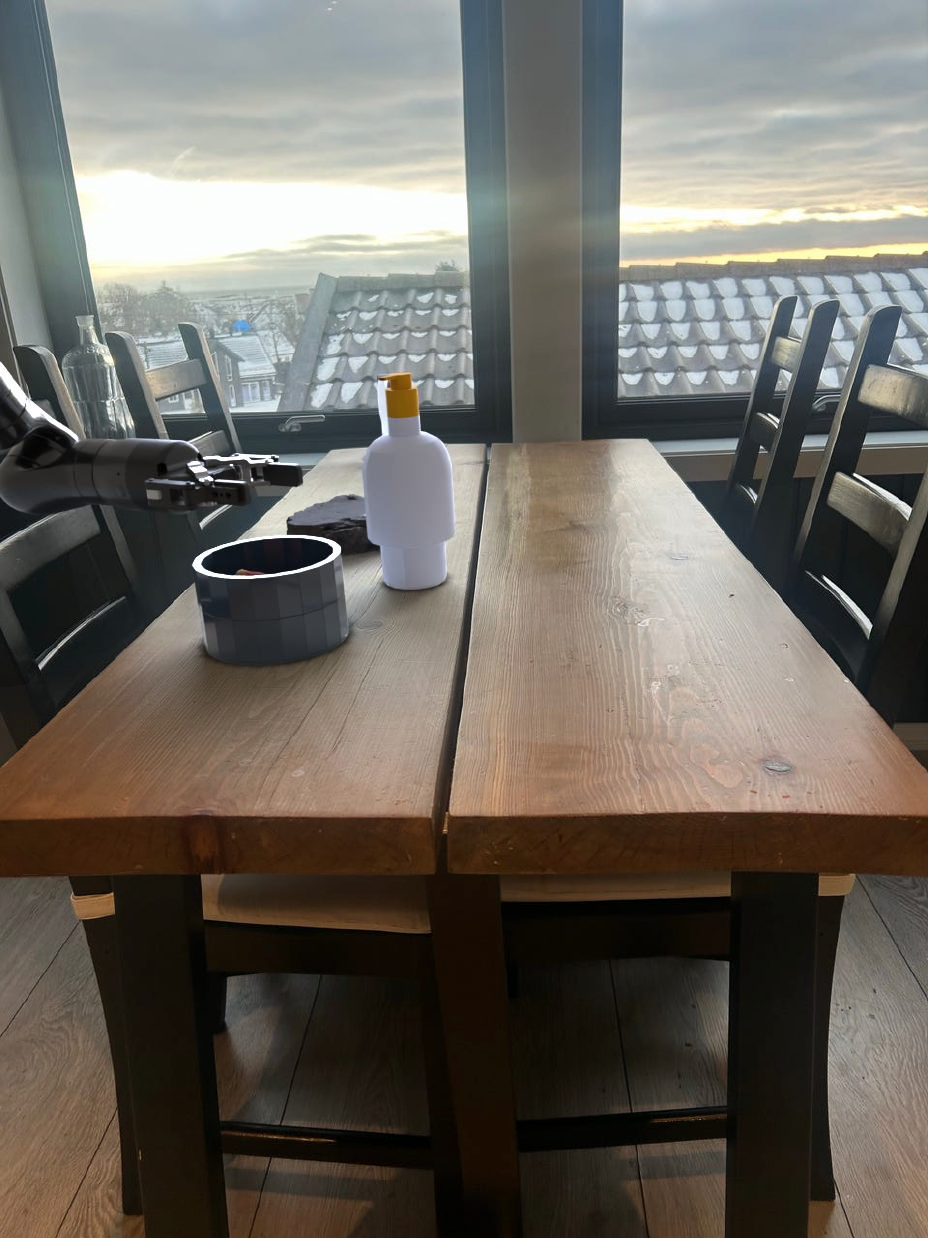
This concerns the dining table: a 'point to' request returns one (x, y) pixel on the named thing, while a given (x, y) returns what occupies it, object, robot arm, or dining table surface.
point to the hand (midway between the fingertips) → (275, 484)
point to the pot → (272, 599)
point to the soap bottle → (408, 493)
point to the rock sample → (335, 523)
